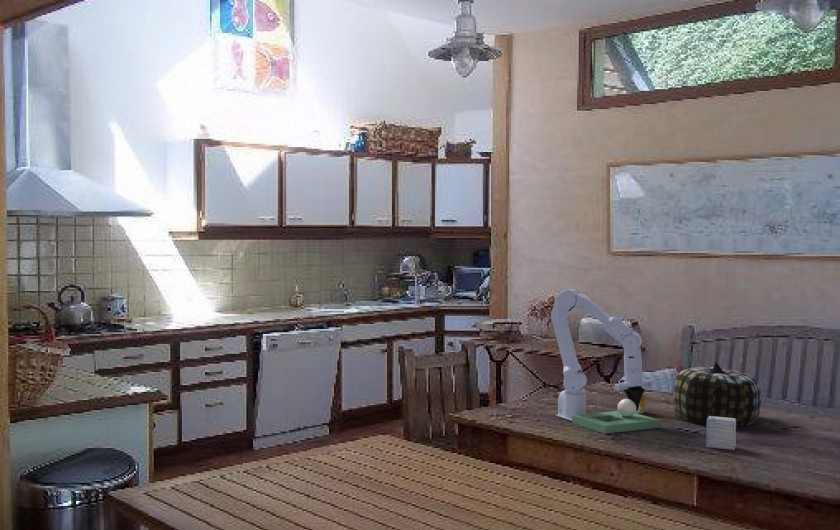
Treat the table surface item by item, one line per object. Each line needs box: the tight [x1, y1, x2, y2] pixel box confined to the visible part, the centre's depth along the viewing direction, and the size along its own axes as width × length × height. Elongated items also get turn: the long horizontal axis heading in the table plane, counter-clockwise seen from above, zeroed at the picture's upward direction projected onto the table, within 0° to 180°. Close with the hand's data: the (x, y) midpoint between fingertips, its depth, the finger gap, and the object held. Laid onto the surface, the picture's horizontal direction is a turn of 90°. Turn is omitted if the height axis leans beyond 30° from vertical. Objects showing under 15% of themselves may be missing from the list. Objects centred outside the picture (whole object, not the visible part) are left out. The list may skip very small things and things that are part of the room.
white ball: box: [617, 398, 636, 417], centre depth 281 cm, size 6×6×6 cm
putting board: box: [571, 410, 660, 435], centre depth 279 cm, size 17×22×2 cm
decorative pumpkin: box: [673, 360, 762, 427], centre depth 292 cm, size 30×29×20 cm
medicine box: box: [705, 416, 737, 451], centre depth 252 cm, size 8×4×9 cm, turn 65°
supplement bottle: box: [635, 387, 646, 414], centre depth 301 cm, size 5×5×10 cm
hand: (634, 409), depth 282 cm, fingers closed, pressing on white ball
